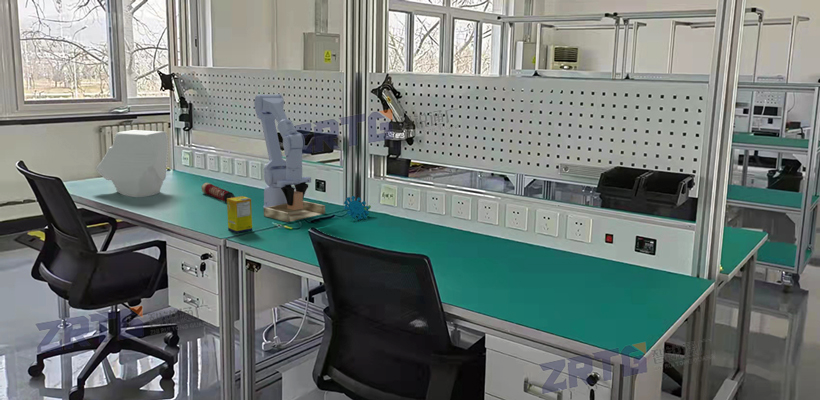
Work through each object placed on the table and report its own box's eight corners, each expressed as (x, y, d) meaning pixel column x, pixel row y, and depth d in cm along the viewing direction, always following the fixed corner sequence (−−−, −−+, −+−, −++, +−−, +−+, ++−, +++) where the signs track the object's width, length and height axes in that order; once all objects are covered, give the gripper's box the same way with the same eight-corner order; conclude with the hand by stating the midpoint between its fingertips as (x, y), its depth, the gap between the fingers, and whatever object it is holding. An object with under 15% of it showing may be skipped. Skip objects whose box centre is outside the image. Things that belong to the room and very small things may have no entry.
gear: (348, 217, 227) (342, 194, 232) (342, 226, 231) (335, 203, 236) (375, 218, 234) (368, 195, 238) (368, 226, 238) (361, 204, 242)
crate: (263, 217, 232) (263, 207, 231) (301, 209, 246) (301, 200, 245) (287, 223, 224) (287, 213, 223) (325, 214, 238) (325, 205, 237)
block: (287, 208, 234) (287, 192, 233) (295, 206, 237) (295, 190, 236) (294, 210, 231) (294, 193, 230) (303, 208, 234) (302, 192, 233)
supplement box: (243, 227, 218) (242, 195, 215) (252, 230, 213) (251, 198, 211) (227, 230, 213) (226, 198, 211) (236, 233, 209) (235, 200, 207)
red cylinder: (241, 195, 253) (210, 183, 276) (230, 192, 250) (200, 180, 272) (237, 206, 253) (207, 193, 275) (226, 203, 250) (196, 190, 272)
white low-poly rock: (144, 199, 257) (140, 135, 252) (95, 193, 268) (90, 131, 262) (182, 190, 276) (179, 131, 271) (135, 184, 287) (131, 127, 281)
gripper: (285, 171, 223) (286, 209, 226) (316, 166, 234) (317, 202, 237) (272, 168, 227) (273, 206, 230) (303, 164, 238) (304, 200, 241)
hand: (294, 204), depth 234 cm, fingers closed on block, 4 cm apart
